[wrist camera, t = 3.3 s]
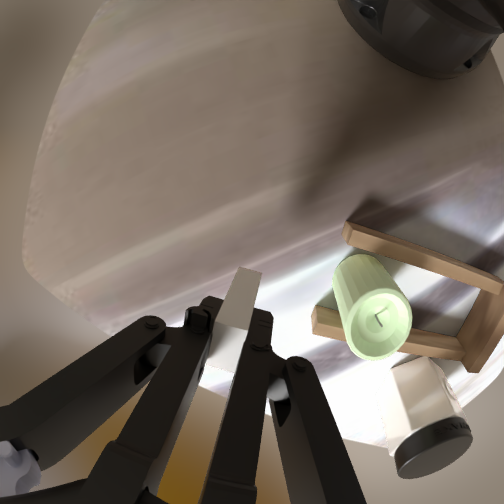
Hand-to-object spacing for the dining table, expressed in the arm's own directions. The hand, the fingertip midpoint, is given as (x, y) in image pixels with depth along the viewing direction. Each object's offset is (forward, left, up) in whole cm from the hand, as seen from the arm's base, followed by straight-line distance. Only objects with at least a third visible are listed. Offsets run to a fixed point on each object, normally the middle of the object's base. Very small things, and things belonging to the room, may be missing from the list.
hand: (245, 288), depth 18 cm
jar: (+11, +22, -7) cm, 25 cm away
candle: (0, +9, -7) cm, 11 cm away
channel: (0, +16, -6) cm, 18 cm away
